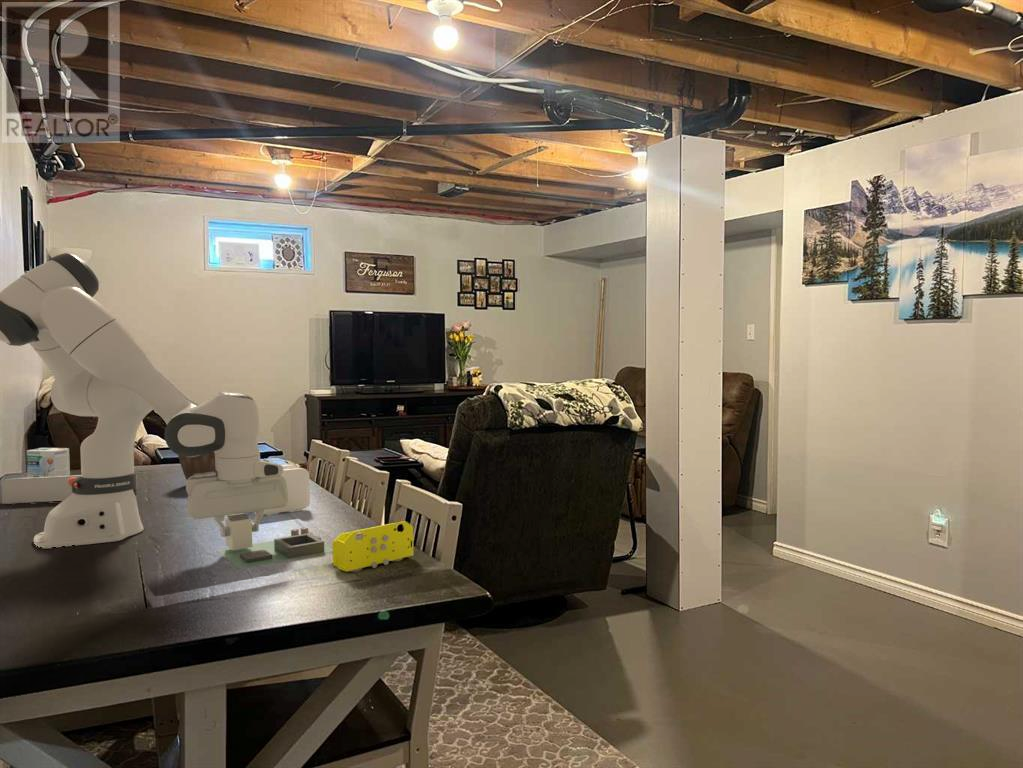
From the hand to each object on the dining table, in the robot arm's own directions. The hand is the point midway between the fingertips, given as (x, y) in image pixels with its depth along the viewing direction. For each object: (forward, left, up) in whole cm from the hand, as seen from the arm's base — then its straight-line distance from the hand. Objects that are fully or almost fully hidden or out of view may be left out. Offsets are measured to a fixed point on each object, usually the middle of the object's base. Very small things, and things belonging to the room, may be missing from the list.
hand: (239, 533), depth 155 cm
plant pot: (+14, +91, -5) cm, 92 cm away
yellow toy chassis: (+20, -22, -5) cm, 30 cm away
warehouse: (-23, +94, -6) cm, 97 cm away
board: (+6, -5, -5) cm, 9 cm away
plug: (0, 0, -3) cm, 3 cm away
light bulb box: (-25, +128, -5) cm, 130 cm away
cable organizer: (+21, +39, -5) cm, 44 cm away
